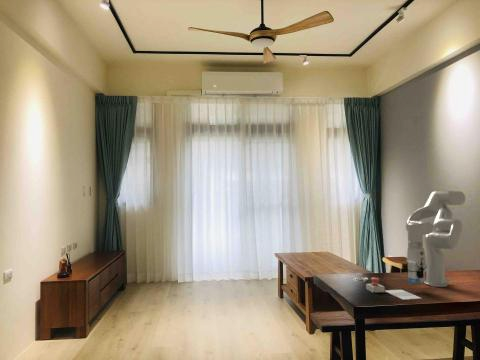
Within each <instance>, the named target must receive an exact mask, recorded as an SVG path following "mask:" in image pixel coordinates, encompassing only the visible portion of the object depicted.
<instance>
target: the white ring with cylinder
mask: <svg viewBox="0 0 480 360" xmlns="http://www.w3.org/2000/svg"><path fill="white" fill-rule="evenodd" d="M354 279H355V280H354ZM352 280H353V281H355V282H357V281H359V282H362V283H364V282H366V281H368V280H369V278H368V277H363V274H362V273H356V274H355V276H354V278H353V279H352Z"/></svg>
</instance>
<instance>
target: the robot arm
mask: <svg viewBox="0 0 480 360" xmlns="http://www.w3.org/2000/svg"><path fill="white" fill-rule="evenodd" d="M465 201H466V195H465V193H464V192H462V191H457V190H433V191H431V193H430V194H429V196H428V197H427V200H426V201H425V204H424V206H422V207H420V208H418V209H417V210H415V211H413V213H411V214H410V215H409V217H408V219H407V221H406V224H405V230H406V231H407V253H406V254H407V257H406V263H407V264H408V261H413V262H416V264H417V266H418V270H419V271H418V278H423V277H424V276H423V271H424V269H426V279H425V281H424V282H423V283H424V285H426V286H429V287H430V286H431V287H437V288H445V287H448V282H451V281H452V278H451V277H446V276H445V254H444V252H443V251H442V250H449V251H450V250H451V251H454V250H455V249H456V248H457V246H458V244H459V242H460V238H461V235H462V232H463V223H462V221H461V219H459V218H458V219H457V218H452V217H453V212H452V210H451V209H450V208H449V207H448V206H462V205H464V203H465ZM433 217H434V220H433V223H432V222H430V221H426V220H424V219H429V218H433ZM423 235H424V238H423ZM424 243H425V247H424ZM425 250H426V252H425ZM420 264H421V265H420ZM420 266H421V268H420Z"/></svg>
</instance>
